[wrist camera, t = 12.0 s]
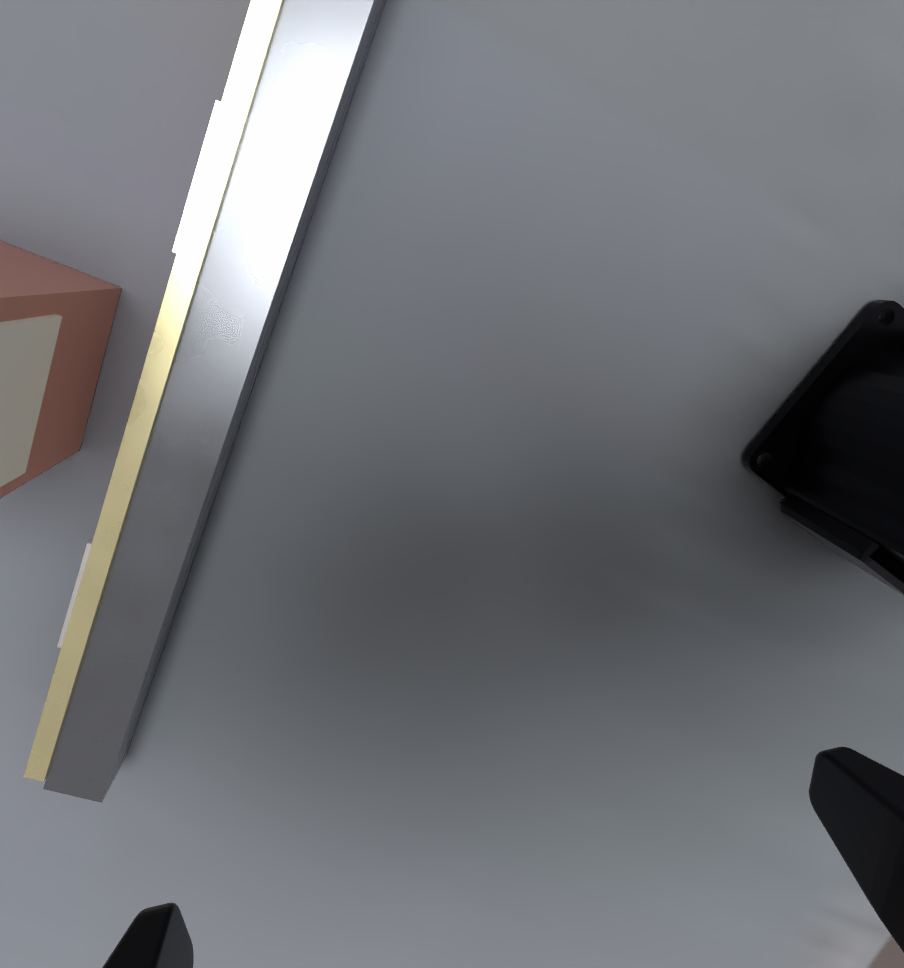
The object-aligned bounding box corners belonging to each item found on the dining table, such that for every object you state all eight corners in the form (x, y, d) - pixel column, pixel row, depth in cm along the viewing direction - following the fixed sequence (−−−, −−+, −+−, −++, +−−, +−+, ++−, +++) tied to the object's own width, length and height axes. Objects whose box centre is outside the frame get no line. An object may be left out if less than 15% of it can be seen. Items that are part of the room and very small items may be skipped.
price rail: (402, -49, 16) (405, -97, 14) (125, 757, 22) (98, 807, 20) (301, -107, 15) (288, -166, 13) (48, 738, 22) (13, 787, 20)
